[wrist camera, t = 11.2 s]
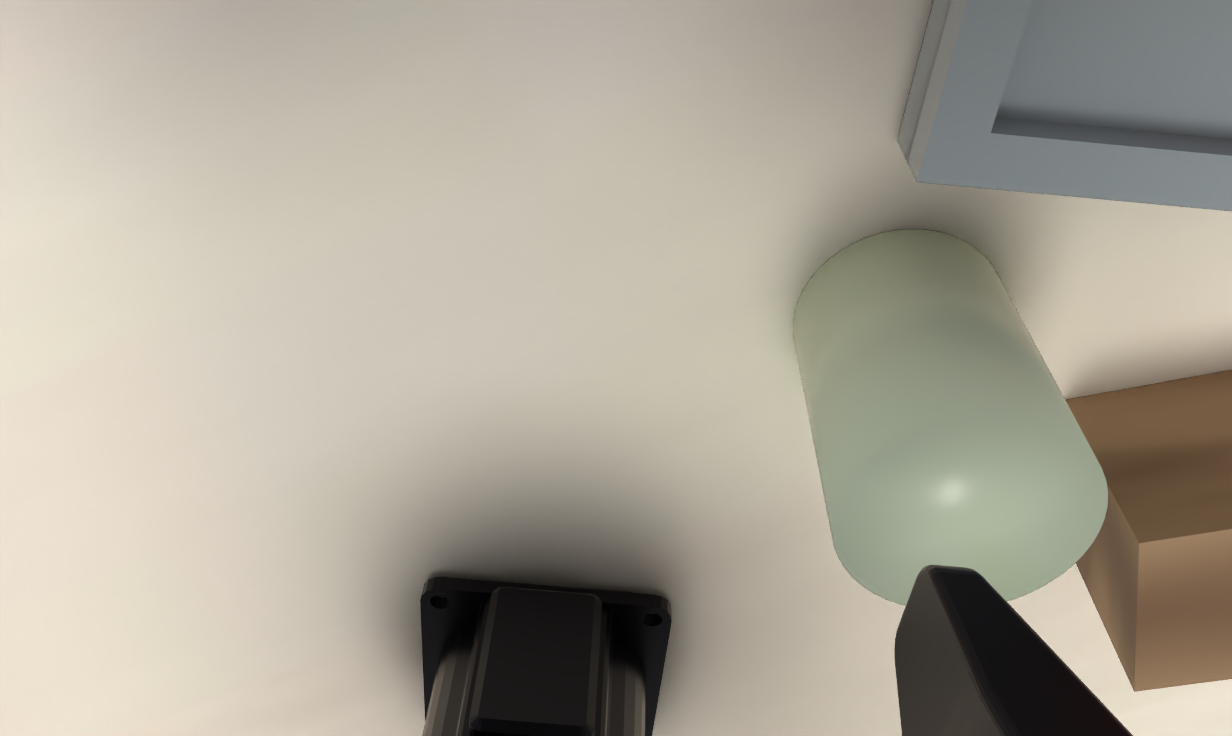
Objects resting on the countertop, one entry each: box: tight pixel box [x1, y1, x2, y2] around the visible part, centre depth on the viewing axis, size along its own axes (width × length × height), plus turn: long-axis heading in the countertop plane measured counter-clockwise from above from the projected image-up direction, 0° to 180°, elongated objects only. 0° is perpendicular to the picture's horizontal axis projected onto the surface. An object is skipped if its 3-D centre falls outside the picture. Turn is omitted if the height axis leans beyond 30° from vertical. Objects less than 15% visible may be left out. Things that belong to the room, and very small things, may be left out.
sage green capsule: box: [793, 229, 1108, 606], centre depth 19 cm, size 4×4×6 cm
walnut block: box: [1065, 370, 1232, 692], centre depth 22 cm, size 4×4×4 cm
